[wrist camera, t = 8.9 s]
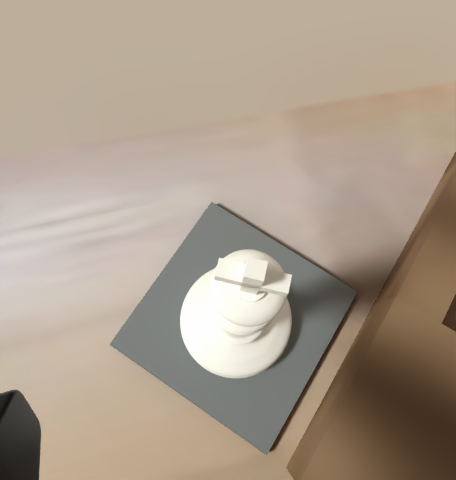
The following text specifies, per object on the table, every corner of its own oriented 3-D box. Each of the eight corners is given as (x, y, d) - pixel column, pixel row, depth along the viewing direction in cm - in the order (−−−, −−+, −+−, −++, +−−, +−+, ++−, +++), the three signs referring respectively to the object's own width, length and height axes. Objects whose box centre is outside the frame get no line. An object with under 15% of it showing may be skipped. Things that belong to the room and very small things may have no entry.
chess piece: (196, 255, 19) (173, 142, 9) (300, 279, 19) (386, 189, 9) (167, 362, 17) (105, 360, 8) (279, 390, 17) (356, 423, 8)
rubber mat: (265, 453, 17) (266, 455, 16) (112, 344, 18) (109, 344, 18) (354, 292, 19) (357, 291, 19) (211, 205, 20) (211, 201, 20)
